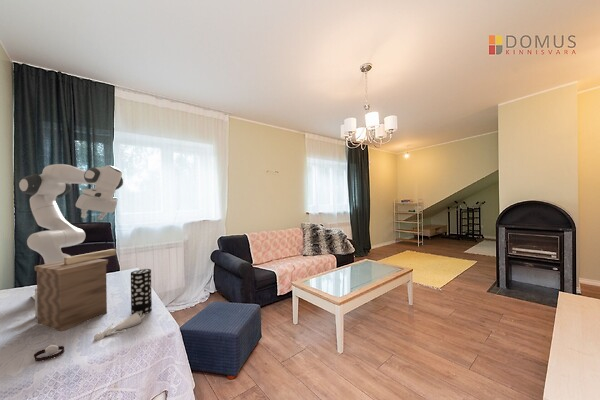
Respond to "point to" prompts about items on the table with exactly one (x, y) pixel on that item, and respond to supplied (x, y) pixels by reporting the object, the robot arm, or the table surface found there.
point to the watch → (49, 350)
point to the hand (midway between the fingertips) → (91, 218)
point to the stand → (71, 293)
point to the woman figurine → (121, 326)
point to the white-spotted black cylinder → (141, 291)
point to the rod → (89, 256)
